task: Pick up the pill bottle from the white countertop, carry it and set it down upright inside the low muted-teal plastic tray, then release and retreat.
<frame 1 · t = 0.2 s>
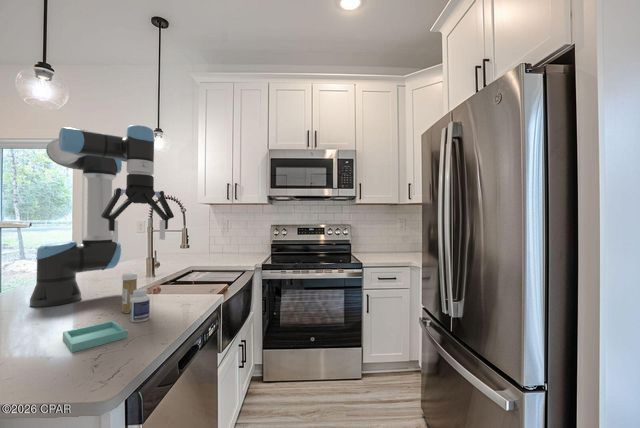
hand: (139, 240, 95), 26 cm above the counter, fingers open, 13 cm apart
tray: (95, 338, 82), on the counter
pill bottle: (140, 320, 97), on the counter
sprinkles bottle: (129, 312, 105), on the counter
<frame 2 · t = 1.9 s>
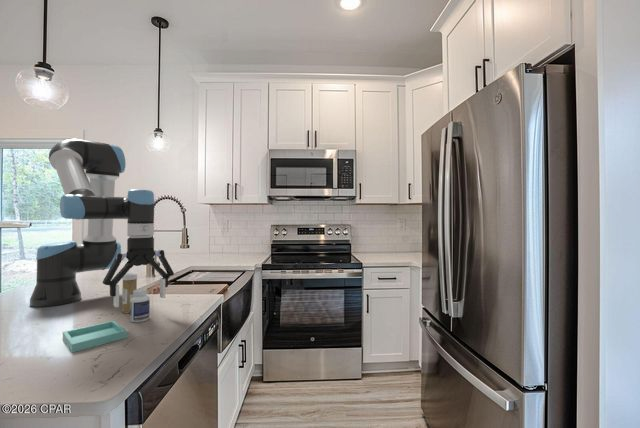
hand: (140, 301, 97), 6 cm above the counter, fingers open, 13 cm apart
nothing on the counter moved.
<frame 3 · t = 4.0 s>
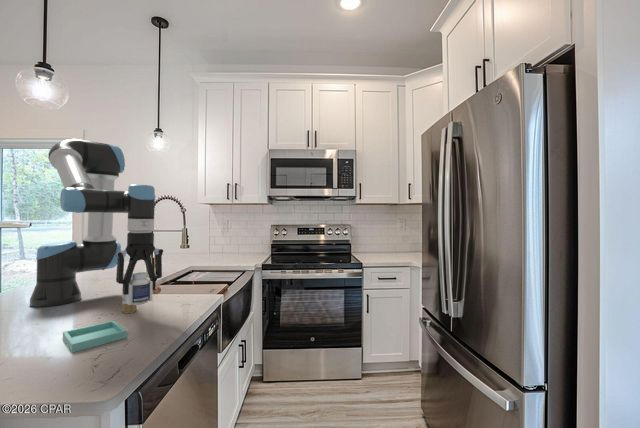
hand: (139, 301, 98), 6 cm above the counter, fingers closed on pill bottle, 5 cm apart
pill bottle: (139, 303, 98), point 5 cm above the counter, touching gripper
everything else where it was.
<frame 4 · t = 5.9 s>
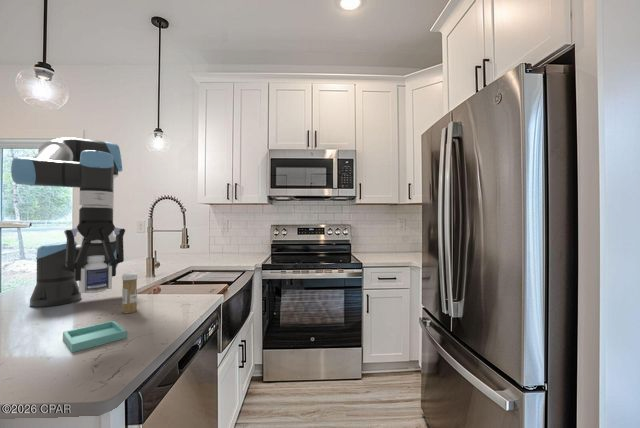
hand: (95, 290, 82), 13 cm above the counter, fingers closed on pill bottle, 5 cm apart
pill bottle: (95, 291, 83), point 13 cm above the counter, touching gripper
everything else where it was.
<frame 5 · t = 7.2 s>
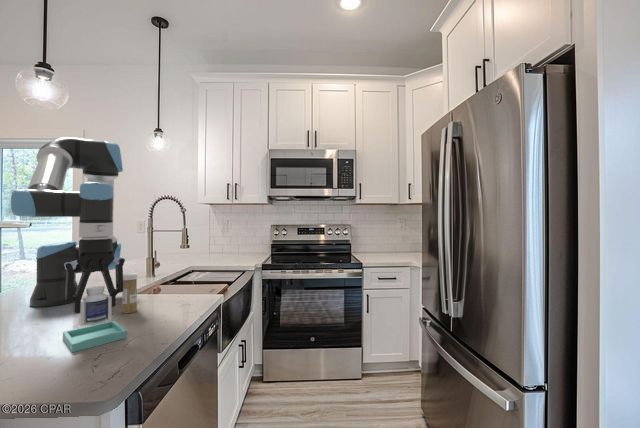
hand: (95, 321, 82), 5 cm above the counter, fingers closed on pill bottle, 5 cm apart
pill bottle: (95, 323, 82), point 4 cm above the counter, touching gripper
everything else where it was.
when the fingers open (2 cm above the counter, at t = 8.0 s): pill bottle drops 1 cm, resting on tray.
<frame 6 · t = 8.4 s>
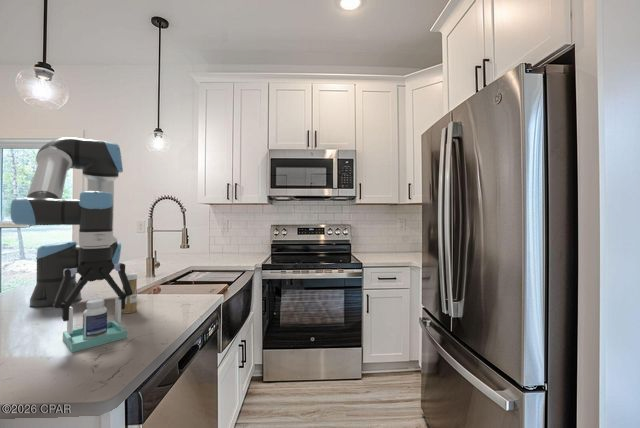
hand: (95, 326, 82), 3 cm above the counter, fingers open, 10 cm apart
pill bottle: (95, 336, 83), resting on tray
everything else where it was.
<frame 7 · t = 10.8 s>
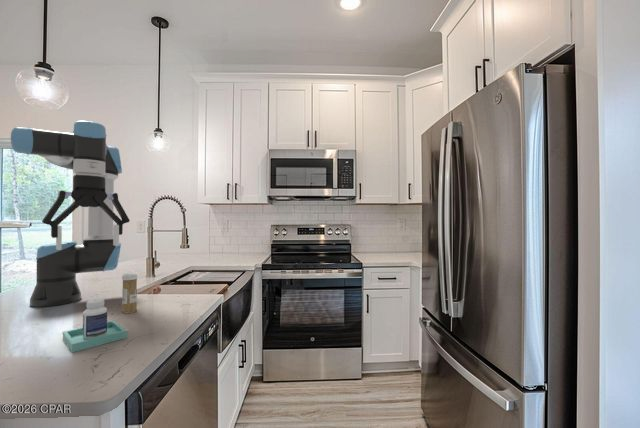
hand: (89, 247, 88), 25 cm above the counter, fingers open, 13 cm apart
nothing on the counter moved.
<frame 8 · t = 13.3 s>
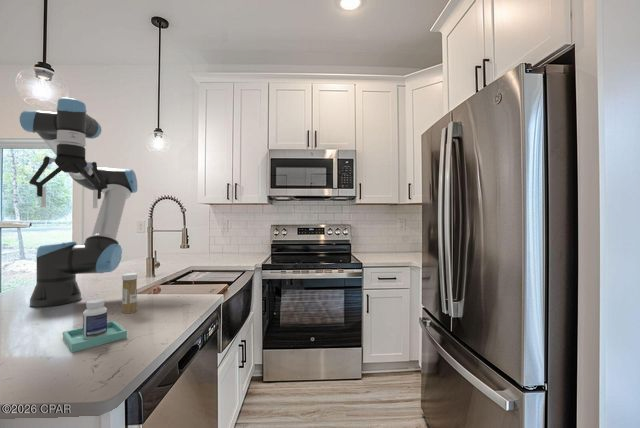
hand: (70, 207, 101), 37 cm above the counter, fingers open, 13 cm apart
nothing on the counter moved.
at the end: pill bottle inside the target area on the tray (0.2 cm from its centre), point 0.4 cm above the tray's base; pill bottle tilted 0°; the gripper is holding nothing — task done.
